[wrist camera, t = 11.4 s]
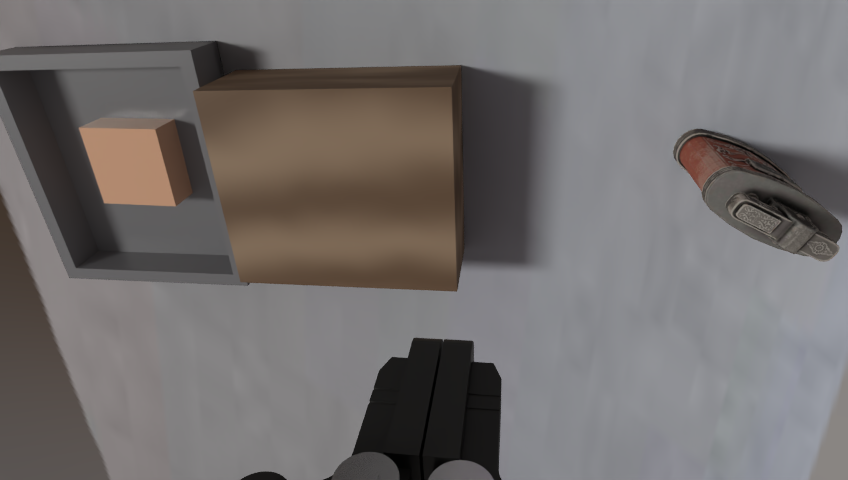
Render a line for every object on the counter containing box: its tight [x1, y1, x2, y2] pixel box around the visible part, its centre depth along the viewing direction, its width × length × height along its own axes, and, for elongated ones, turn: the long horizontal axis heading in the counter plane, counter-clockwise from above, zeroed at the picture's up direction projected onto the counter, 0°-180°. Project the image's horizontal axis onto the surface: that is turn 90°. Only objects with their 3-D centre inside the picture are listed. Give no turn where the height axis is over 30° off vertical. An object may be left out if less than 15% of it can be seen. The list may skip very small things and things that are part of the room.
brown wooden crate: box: [193, 65, 464, 291], centre depth 39 cm, size 14×16×6 cm
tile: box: [79, 118, 193, 206], centre depth 42 cm, size 6×6×2 cm
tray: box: [0, 41, 249, 286], centre depth 42 cm, size 18×16×4 cm
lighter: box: [673, 129, 842, 262], centre depth 33 cm, size 8×3×10 cm, turn 66°
